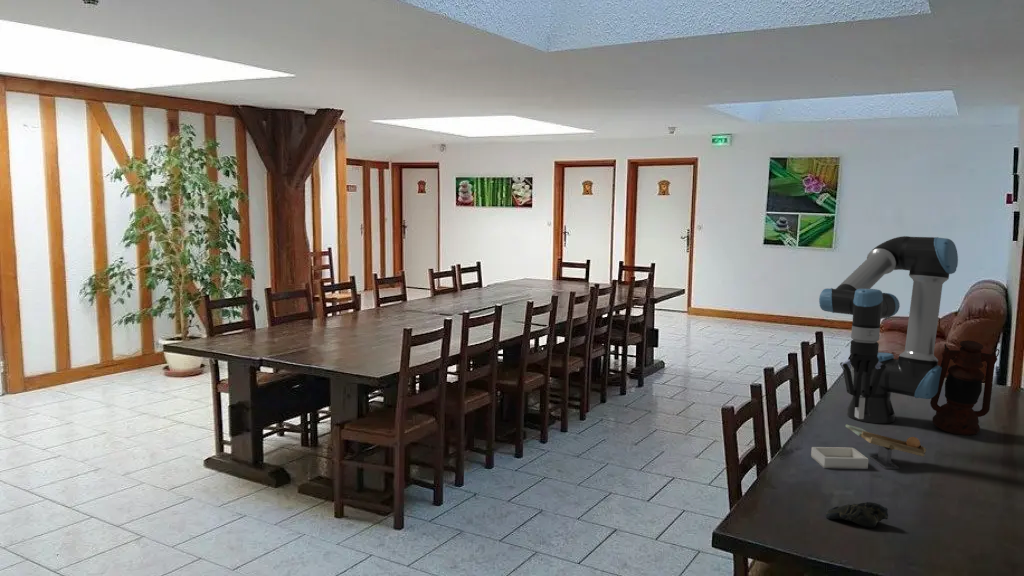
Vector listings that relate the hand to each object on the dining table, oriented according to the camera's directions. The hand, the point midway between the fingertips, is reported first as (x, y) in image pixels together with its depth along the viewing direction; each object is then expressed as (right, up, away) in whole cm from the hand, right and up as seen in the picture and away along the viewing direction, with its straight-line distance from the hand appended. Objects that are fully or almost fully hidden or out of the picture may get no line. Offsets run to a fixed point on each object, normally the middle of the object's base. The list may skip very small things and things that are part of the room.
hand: (858, 417), depth 217 cm
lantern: (+45, -7, +26) cm, 53 cm away
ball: (+12, -6, -8) cm, 15 cm away
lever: (+6, -7, -4) cm, 9 cm away
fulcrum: (+4, -12, -7) cm, 15 cm away
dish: (-9, -12, -7) cm, 17 cm away
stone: (-23, -17, -46) cm, 54 cm away
